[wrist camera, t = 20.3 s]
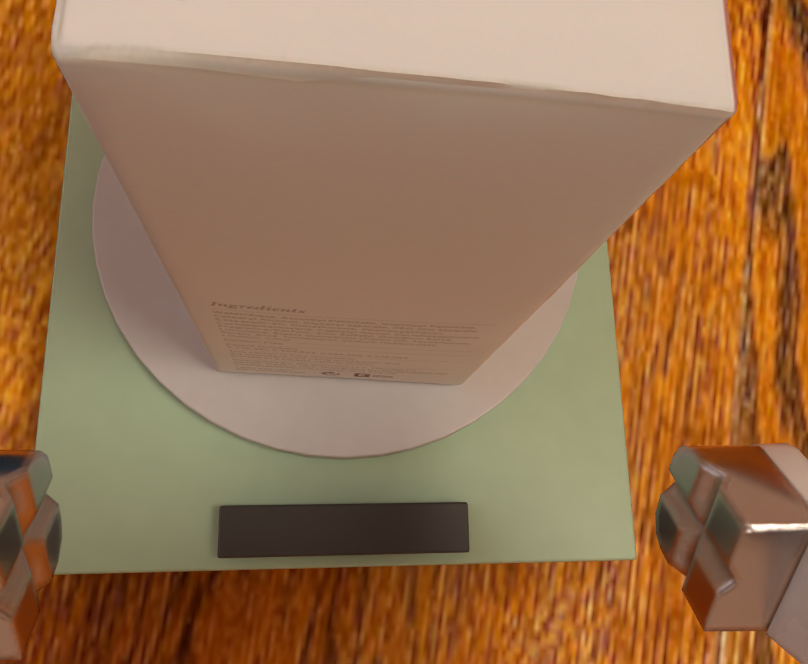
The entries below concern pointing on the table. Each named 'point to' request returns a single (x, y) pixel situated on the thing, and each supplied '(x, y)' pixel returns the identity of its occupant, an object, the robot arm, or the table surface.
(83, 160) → the scale
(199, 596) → the table surface
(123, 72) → the small box
